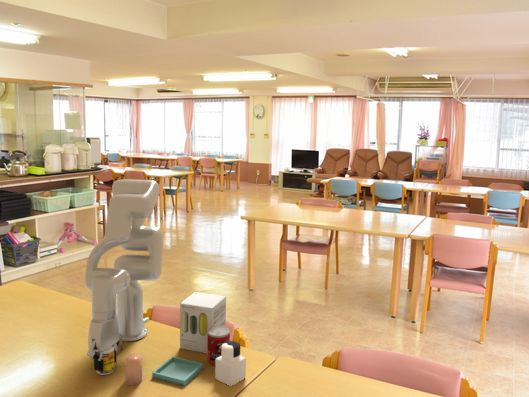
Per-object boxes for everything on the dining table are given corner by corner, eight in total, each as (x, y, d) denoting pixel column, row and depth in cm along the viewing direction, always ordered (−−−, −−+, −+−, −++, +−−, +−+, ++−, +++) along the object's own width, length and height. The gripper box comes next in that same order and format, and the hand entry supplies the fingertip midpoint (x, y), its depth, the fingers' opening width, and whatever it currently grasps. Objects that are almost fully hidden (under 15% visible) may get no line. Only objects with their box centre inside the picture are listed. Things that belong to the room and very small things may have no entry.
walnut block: (109, 348, 171) (108, 335, 170) (122, 349, 170) (122, 336, 170) (102, 354, 166) (102, 341, 165) (116, 355, 165) (116, 342, 165)
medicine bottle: (229, 370, 157) (230, 336, 156) (245, 378, 153) (246, 343, 151) (214, 379, 152) (215, 344, 150) (230, 387, 147) (231, 351, 146)
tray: (172, 361, 163) (172, 356, 162) (203, 368, 158) (203, 363, 158) (152, 377, 151) (152, 372, 151) (184, 386, 147) (184, 380, 147)
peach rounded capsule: (132, 375, 152) (132, 352, 151) (145, 379, 151) (145, 355, 149) (122, 383, 148) (122, 359, 147) (135, 386, 146) (135, 362, 145)
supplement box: (178, 348, 172) (178, 302, 169) (194, 334, 184) (194, 291, 182) (212, 354, 168) (213, 308, 165) (226, 339, 180) (226, 295, 178)
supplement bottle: (99, 377, 151) (98, 347, 149) (94, 369, 155) (94, 340, 154) (116, 373, 154) (116, 343, 152) (111, 365, 158) (111, 336, 157)
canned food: (209, 367, 159) (209, 336, 157) (205, 356, 167) (205, 326, 165) (231, 365, 161) (232, 334, 160) (226, 354, 169) (227, 325, 167)
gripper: (112, 302, 161) (113, 352, 163) (75, 321, 145) (77, 376, 148) (130, 306, 158) (131, 357, 161) (95, 325, 142) (96, 381, 145)
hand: (105, 365), depth 154 cm, fingers closed on supplement bottle, 5 cm apart
